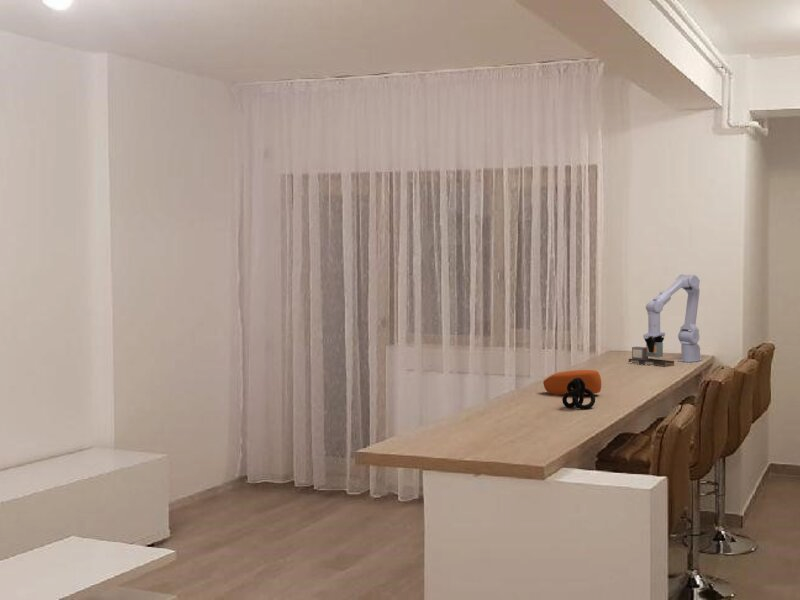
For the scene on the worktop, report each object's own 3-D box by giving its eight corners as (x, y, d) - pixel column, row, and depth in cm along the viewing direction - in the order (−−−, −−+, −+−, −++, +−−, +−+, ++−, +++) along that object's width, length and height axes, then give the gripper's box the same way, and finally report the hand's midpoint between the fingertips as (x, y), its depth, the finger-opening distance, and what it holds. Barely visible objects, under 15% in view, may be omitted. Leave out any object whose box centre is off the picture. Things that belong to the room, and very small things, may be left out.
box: (637, 360, 553) (637, 346, 553) (648, 361, 548) (648, 347, 547) (631, 360, 551) (631, 347, 550) (642, 362, 545) (642, 348, 545)
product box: (651, 355, 546) (651, 341, 545) (662, 356, 540) (662, 342, 540) (646, 356, 543) (646, 342, 543) (657, 357, 538) (657, 343, 537)
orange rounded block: (540, 399, 456) (597, 396, 444) (537, 374, 455) (594, 370, 443) (550, 395, 466) (606, 392, 454) (547, 370, 466) (603, 367, 454)
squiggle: (579, 422, 422) (580, 397, 434) (597, 408, 416) (599, 383, 428) (557, 405, 419) (559, 381, 431) (575, 391, 413) (578, 367, 425)
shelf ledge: (638, 361, 555) (638, 357, 555) (674, 365, 538) (674, 361, 537) (628, 363, 550) (628, 358, 550) (663, 367, 533) (663, 362, 532)
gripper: (657, 323, 548) (657, 350, 549) (638, 325, 539) (638, 352, 540) (668, 324, 543) (668, 351, 544) (649, 326, 534) (649, 353, 535)
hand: (654, 351), depth 542 cm, fingers closed on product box, 4 cm apart
